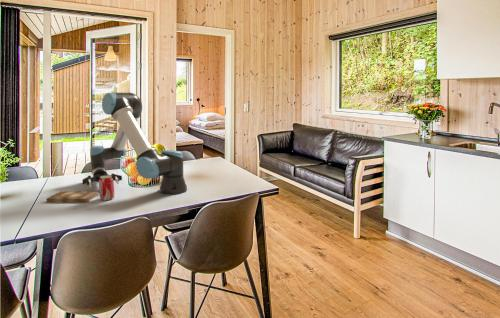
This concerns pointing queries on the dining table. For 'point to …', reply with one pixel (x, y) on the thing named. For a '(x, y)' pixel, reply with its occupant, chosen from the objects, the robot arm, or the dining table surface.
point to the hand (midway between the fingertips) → (104, 183)
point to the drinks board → (72, 197)
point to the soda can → (106, 187)
